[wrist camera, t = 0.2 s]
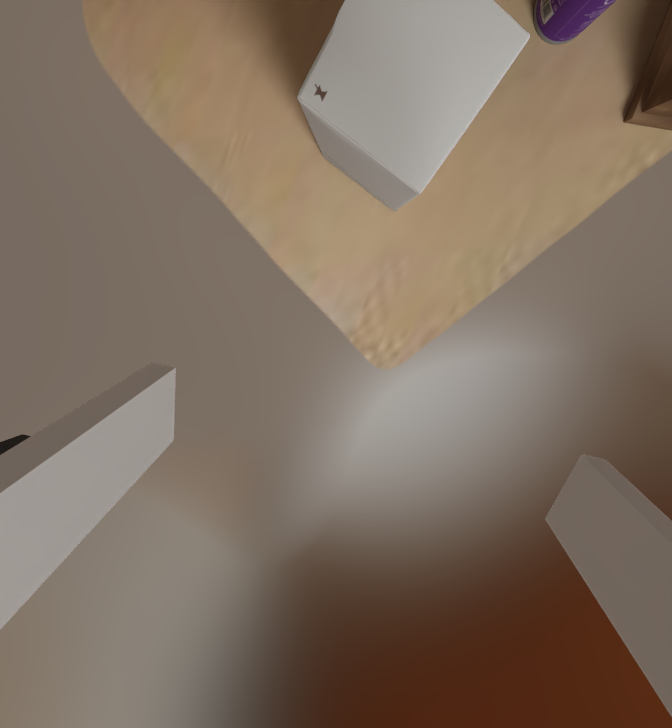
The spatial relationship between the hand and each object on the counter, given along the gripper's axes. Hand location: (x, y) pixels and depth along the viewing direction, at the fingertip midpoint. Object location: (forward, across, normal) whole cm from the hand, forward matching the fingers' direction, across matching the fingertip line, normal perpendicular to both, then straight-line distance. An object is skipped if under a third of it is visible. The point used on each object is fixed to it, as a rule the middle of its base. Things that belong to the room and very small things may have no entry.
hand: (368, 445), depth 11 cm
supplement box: (+28, -1, +14) cm, 31 cm away
